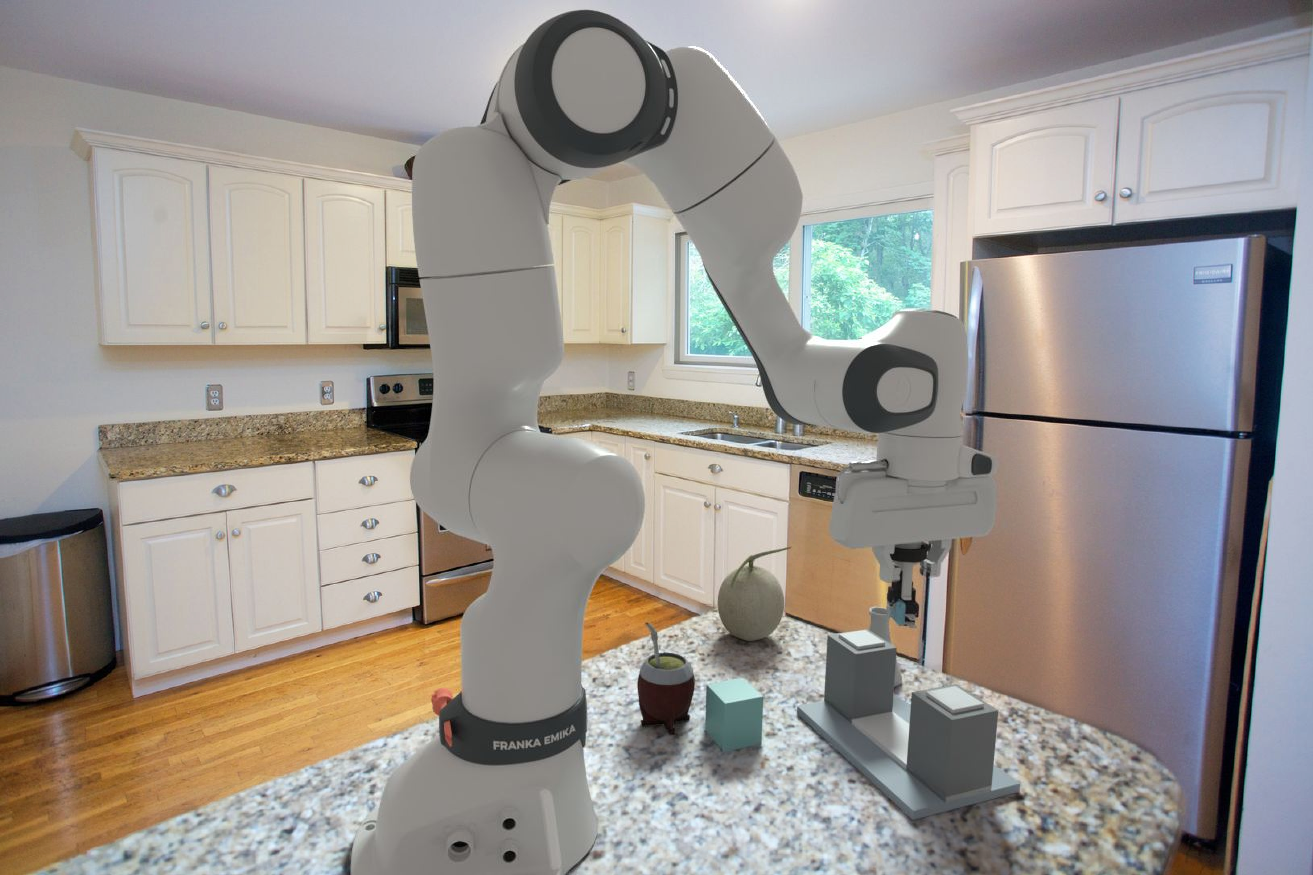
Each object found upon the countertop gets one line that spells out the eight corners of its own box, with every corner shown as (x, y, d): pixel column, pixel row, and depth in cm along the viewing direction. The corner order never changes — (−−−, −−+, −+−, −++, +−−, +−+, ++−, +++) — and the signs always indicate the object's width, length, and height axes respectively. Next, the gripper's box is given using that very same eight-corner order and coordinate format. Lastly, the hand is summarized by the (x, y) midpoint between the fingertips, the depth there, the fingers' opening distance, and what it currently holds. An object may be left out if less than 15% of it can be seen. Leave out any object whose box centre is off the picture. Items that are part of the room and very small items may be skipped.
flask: (842, 680, 103) (846, 612, 101) (859, 661, 109) (863, 597, 107) (894, 695, 99) (899, 624, 97) (909, 675, 105) (914, 608, 103)
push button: (936, 632, 81) (942, 545, 80) (888, 632, 81) (893, 544, 80) (914, 611, 87) (919, 529, 86) (870, 610, 87) (874, 529, 86)
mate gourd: (683, 704, 95) (686, 594, 93) (703, 736, 88) (707, 617, 85) (627, 711, 93) (629, 598, 91) (643, 745, 86) (645, 623, 83)
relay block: (763, 696, 86) (761, 743, 86) (743, 677, 90) (741, 722, 91) (725, 703, 84) (723, 752, 85) (706, 683, 88) (705, 730, 89)
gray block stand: (912, 819, 73) (920, 722, 72) (796, 712, 93) (800, 635, 92) (1019, 791, 78) (1028, 700, 77) (887, 695, 98) (892, 622, 97)
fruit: (700, 639, 116) (702, 548, 113) (740, 619, 124) (743, 533, 122) (756, 659, 109) (760, 562, 107) (795, 636, 118) (799, 546, 115)
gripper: (856, 467, 74) (848, 597, 76) (1010, 459, 81) (999, 578, 83) (821, 457, 80) (815, 578, 82) (968, 450, 87) (959, 562, 89)
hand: (909, 578), depth 83 cm, fingers closed on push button, 4 cm apart
